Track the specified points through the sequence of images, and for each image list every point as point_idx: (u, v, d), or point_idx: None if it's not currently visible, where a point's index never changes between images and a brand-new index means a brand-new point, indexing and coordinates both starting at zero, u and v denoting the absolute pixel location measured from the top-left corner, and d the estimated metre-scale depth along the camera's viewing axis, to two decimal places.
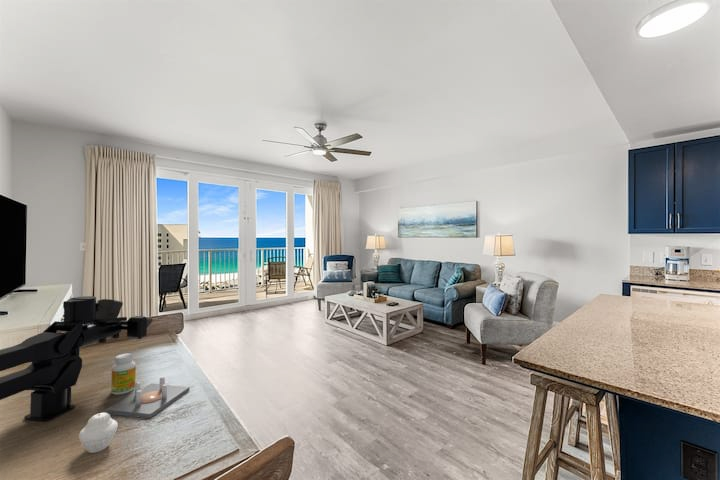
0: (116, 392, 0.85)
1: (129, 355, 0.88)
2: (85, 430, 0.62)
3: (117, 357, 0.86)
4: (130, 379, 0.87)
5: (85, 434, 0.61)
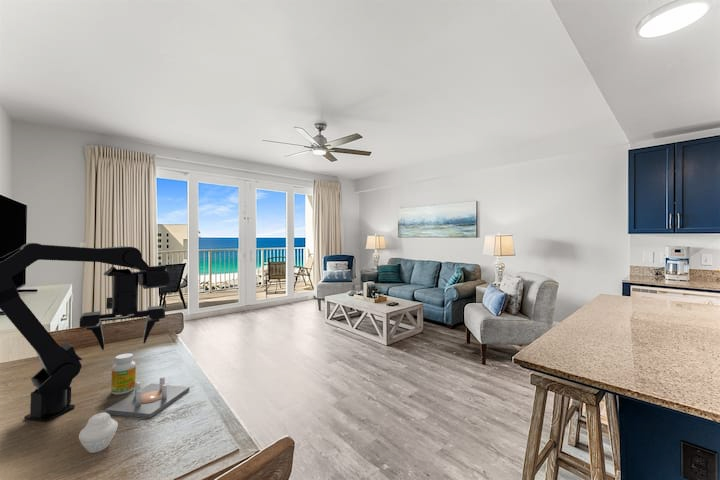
0: (116, 392, 0.85)
1: (129, 355, 0.88)
2: (85, 430, 0.62)
3: (117, 357, 0.86)
4: (130, 379, 0.87)
5: (85, 434, 0.61)
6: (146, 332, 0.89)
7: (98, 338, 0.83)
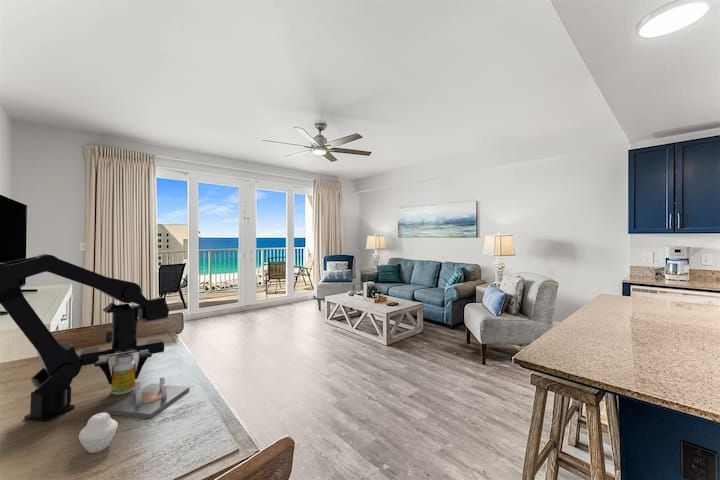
0: (116, 392, 0.85)
1: (129, 355, 0.88)
2: (85, 430, 0.62)
3: (117, 357, 0.86)
4: (130, 379, 0.87)
5: (85, 434, 0.61)
6: (138, 368, 0.88)
7: (106, 374, 0.84)
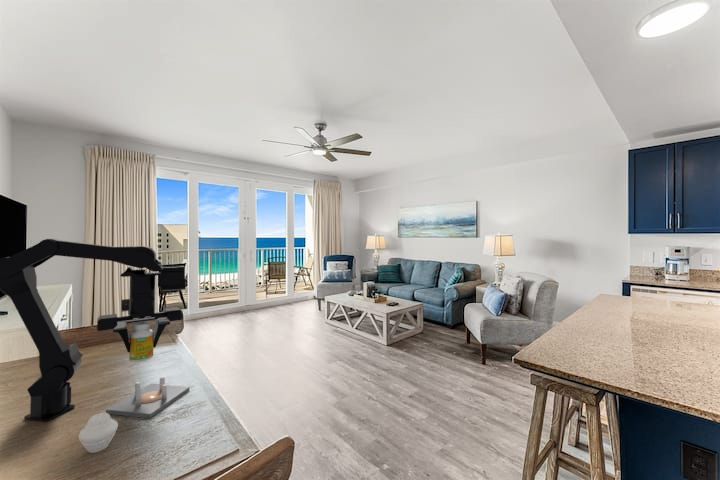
0: (135, 359, 0.82)
1: (147, 322, 0.85)
2: (85, 430, 0.62)
3: (135, 324, 0.83)
4: (149, 347, 0.84)
5: (85, 434, 0.61)
6: (156, 336, 0.85)
7: (124, 340, 0.81)
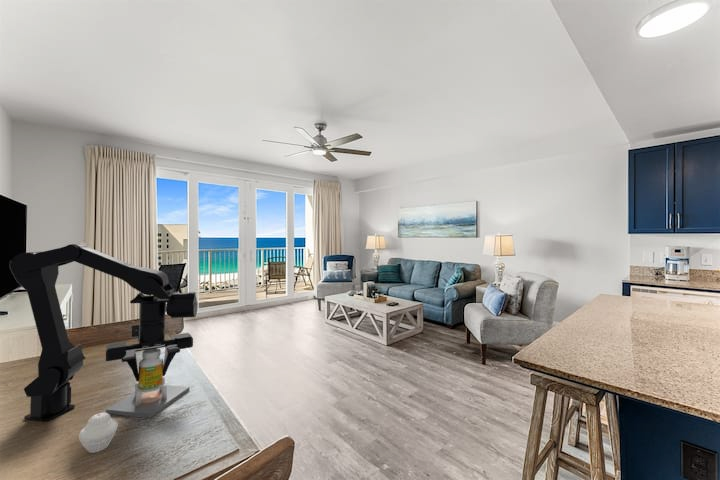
0: (143, 389, 0.79)
1: (156, 350, 0.83)
2: (85, 430, 0.62)
3: (144, 352, 0.81)
4: (158, 376, 0.81)
5: (85, 434, 0.61)
6: (166, 364, 0.83)
7: (133, 370, 0.78)
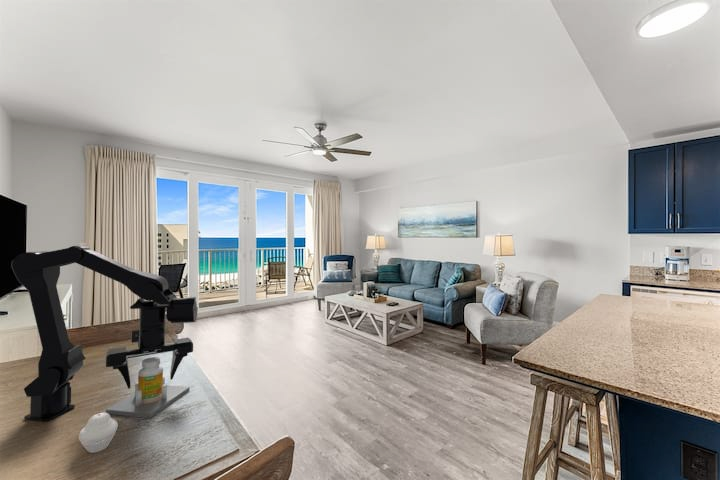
0: (143, 399, 0.79)
1: (156, 359, 0.82)
2: (85, 430, 0.62)
3: (144, 361, 0.81)
4: (158, 385, 0.81)
5: (85, 434, 0.61)
6: (174, 368, 0.84)
7: (125, 377, 0.77)
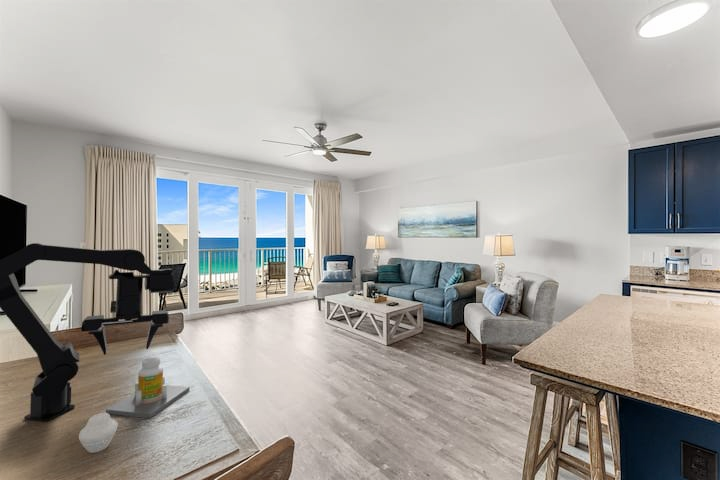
0: (143, 399, 0.79)
1: (156, 359, 0.82)
2: (85, 430, 0.62)
3: (144, 361, 0.81)
4: (158, 385, 0.81)
5: (85, 434, 0.61)
6: (149, 337, 0.87)
7: (100, 343, 0.81)
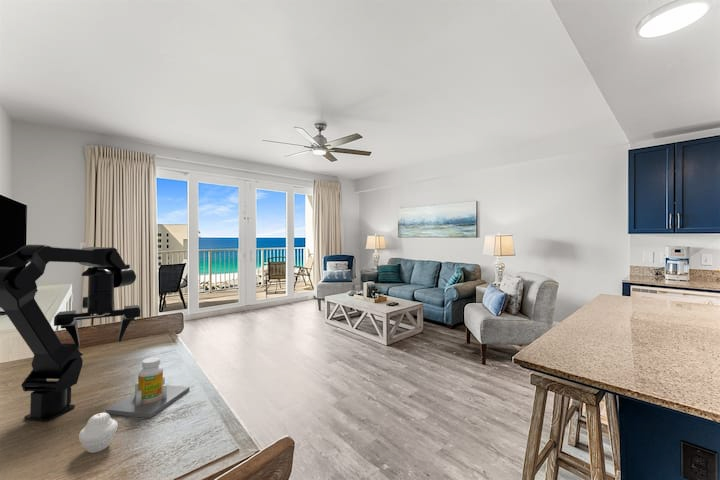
0: (143, 399, 0.79)
1: (156, 359, 0.82)
2: (85, 430, 0.62)
3: (144, 361, 0.81)
4: (158, 385, 0.81)
5: (85, 434, 0.61)
6: (121, 331, 0.91)
7: (73, 336, 0.85)
